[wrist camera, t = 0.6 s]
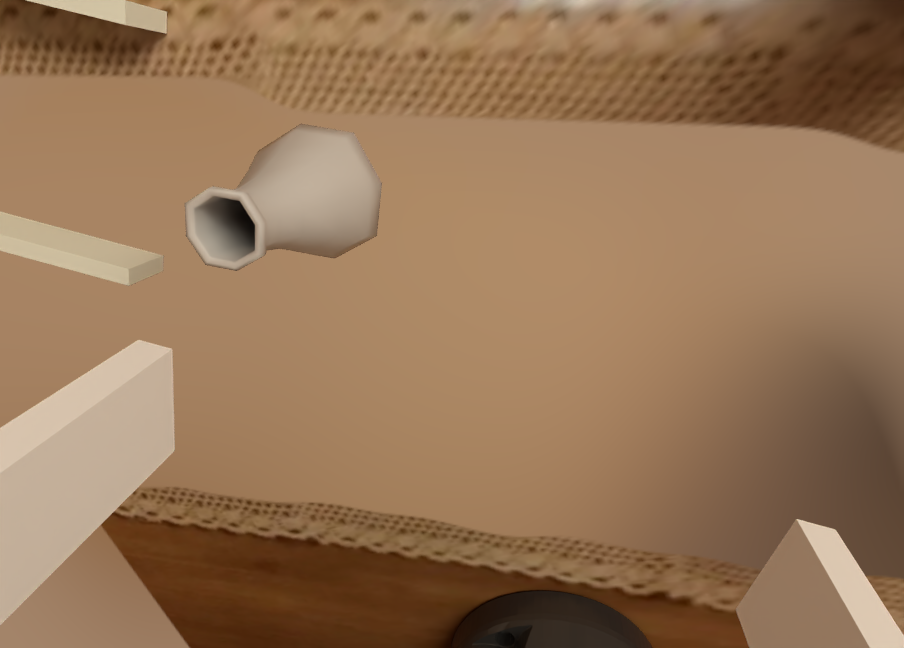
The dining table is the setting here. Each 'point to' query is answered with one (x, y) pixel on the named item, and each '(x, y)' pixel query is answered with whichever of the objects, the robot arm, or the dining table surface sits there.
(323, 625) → the dining table surface
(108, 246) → the u-shaped wooden frame
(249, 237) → the flask
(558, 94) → the dining table surface
